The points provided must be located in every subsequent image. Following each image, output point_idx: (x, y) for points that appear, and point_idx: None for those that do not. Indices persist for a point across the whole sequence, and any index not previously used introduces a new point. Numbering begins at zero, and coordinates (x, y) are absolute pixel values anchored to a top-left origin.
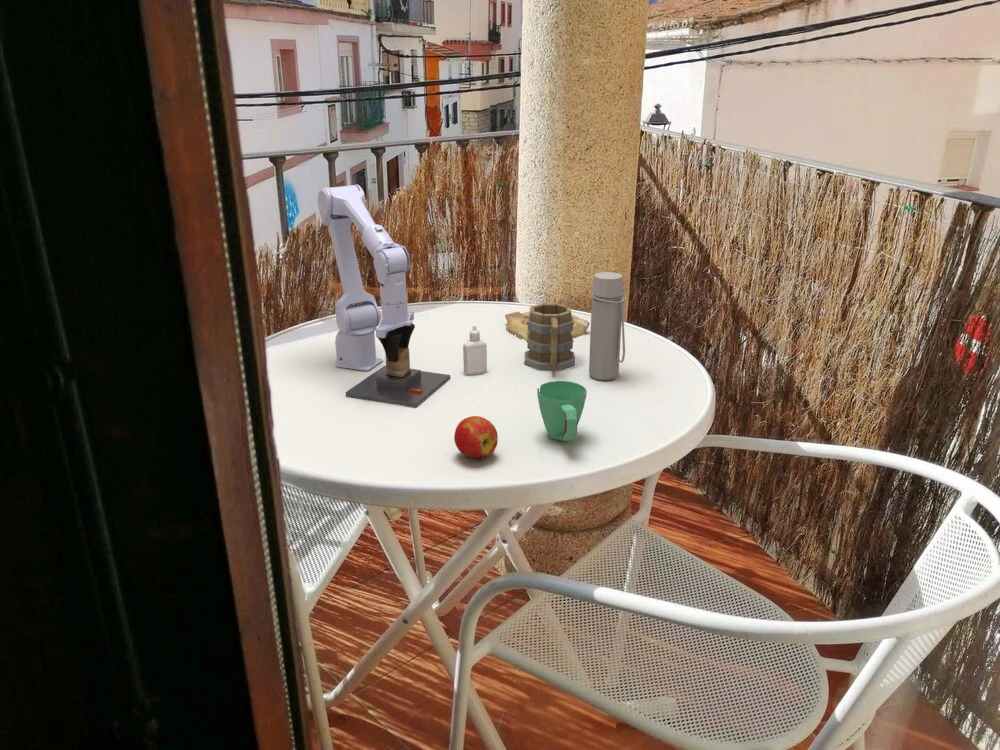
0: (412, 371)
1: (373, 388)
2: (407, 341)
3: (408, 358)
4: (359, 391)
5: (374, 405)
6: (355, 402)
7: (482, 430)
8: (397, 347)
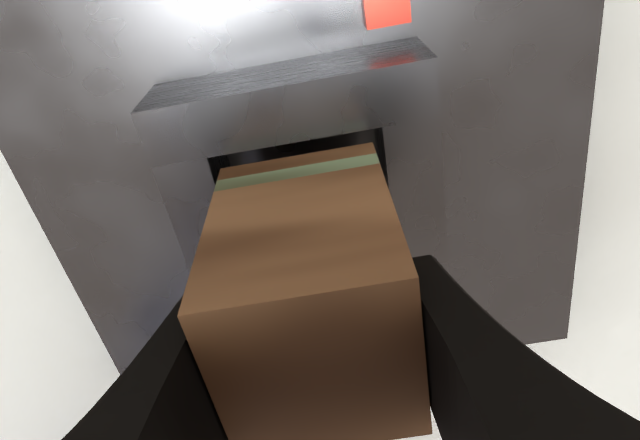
0: (204, 153)
1: (457, 258)
2: (151, 412)
3: (224, 234)
4: (529, 292)
5: (635, 117)
6: (617, 237)
7: None
8: (506, 367)
